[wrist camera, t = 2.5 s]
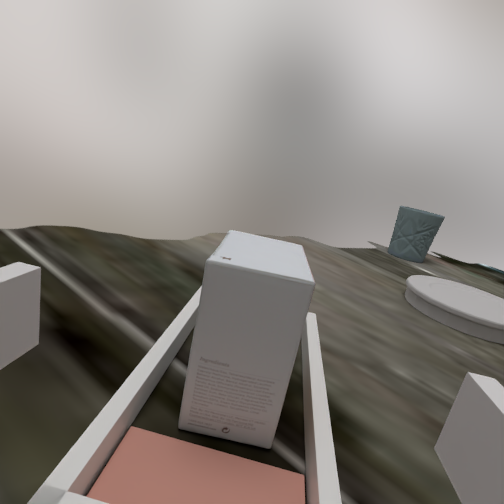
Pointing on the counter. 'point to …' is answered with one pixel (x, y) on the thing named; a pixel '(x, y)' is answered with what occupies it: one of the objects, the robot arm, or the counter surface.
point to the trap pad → (189, 475)
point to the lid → (458, 306)
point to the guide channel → (141, 386)
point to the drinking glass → (414, 233)
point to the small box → (246, 338)
